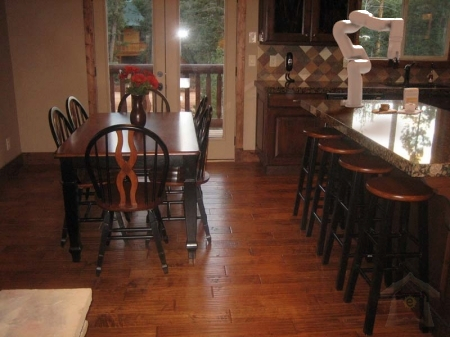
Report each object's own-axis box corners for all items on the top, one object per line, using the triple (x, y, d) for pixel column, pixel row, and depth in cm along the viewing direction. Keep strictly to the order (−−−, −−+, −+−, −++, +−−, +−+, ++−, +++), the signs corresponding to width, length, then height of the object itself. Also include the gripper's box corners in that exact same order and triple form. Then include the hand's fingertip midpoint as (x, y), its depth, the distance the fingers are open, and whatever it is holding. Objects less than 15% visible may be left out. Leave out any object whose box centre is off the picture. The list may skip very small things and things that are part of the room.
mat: (396, 113, 287) (396, 111, 287) (403, 110, 296) (403, 108, 296) (416, 114, 280) (416, 112, 279) (423, 111, 288) (423, 110, 288)
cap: (403, 110, 291) (403, 103, 289) (412, 109, 290) (413, 102, 289) (406, 111, 285) (407, 104, 284) (416, 111, 285) (417, 103, 283)
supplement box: (415, 107, 305) (416, 87, 301) (417, 108, 300) (419, 88, 297) (402, 108, 306) (403, 88, 302) (404, 109, 301) (405, 88, 298)
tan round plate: (367, 112, 293) (368, 104, 292) (377, 109, 304) (377, 101, 303) (391, 114, 284) (391, 106, 282) (400, 111, 294) (400, 103, 293)
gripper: (384, 39, 293) (382, 66, 298) (394, 40, 276) (391, 69, 282) (396, 39, 293) (393, 66, 298) (406, 40, 276) (403, 69, 282)
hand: (392, 68), depth 290 cm, fingers open, 9 cm apart
